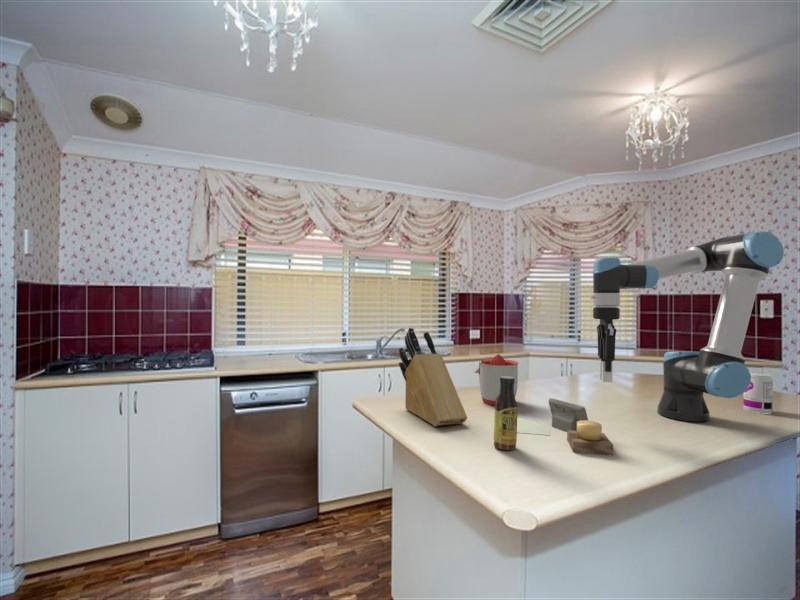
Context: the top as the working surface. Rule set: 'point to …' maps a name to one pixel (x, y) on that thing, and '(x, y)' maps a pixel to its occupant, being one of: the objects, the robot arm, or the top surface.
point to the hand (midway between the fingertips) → (605, 380)
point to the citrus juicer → (495, 377)
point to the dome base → (589, 444)
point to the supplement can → (759, 394)
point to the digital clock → (566, 414)
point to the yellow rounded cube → (589, 430)
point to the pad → (531, 427)
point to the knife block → (429, 384)
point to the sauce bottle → (505, 415)
